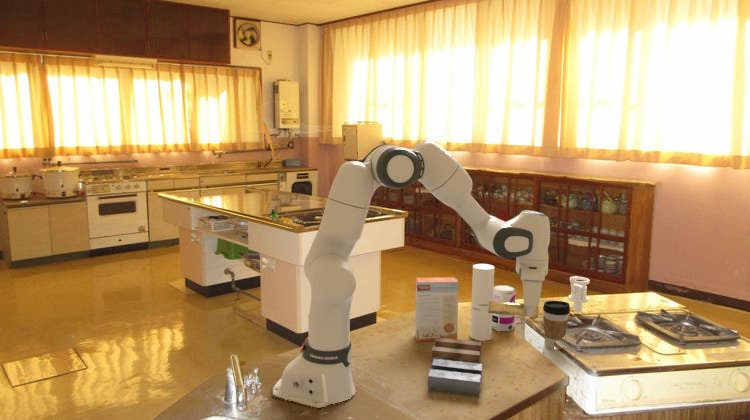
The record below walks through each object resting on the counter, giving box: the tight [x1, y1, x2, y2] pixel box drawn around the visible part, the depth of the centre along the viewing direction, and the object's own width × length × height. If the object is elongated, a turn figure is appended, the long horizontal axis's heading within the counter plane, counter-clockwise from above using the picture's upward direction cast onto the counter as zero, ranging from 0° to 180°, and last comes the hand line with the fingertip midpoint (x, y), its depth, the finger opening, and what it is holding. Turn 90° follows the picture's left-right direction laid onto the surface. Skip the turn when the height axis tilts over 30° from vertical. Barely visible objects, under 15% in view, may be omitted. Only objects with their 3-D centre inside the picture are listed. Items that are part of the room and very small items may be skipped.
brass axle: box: [488, 301, 539, 318], centre depth 159 cm, size 14×4×4 cm, turn 76°
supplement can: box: [492, 284, 517, 332], centre depth 194 cm, size 8×8×15 cm
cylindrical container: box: [469, 263, 495, 342], centre depth 186 cm, size 7×7×25 cm
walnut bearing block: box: [430, 337, 482, 369], centre depth 166 cm, size 14×10×6 cm
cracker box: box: [414, 276, 460, 342], centre depth 185 cm, size 14×6×21 cm, turn 92°
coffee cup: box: [542, 300, 571, 351], centre depth 179 cm, size 8×8×15 cm
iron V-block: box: [427, 359, 483, 398], centre depth 153 cm, size 14×11×4 cm
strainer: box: [568, 275, 590, 312], centre depth 210 cm, size 7×7×15 cm
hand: (529, 312), depth 158 cm, fingers closed on brass axle, 4 cm apart
